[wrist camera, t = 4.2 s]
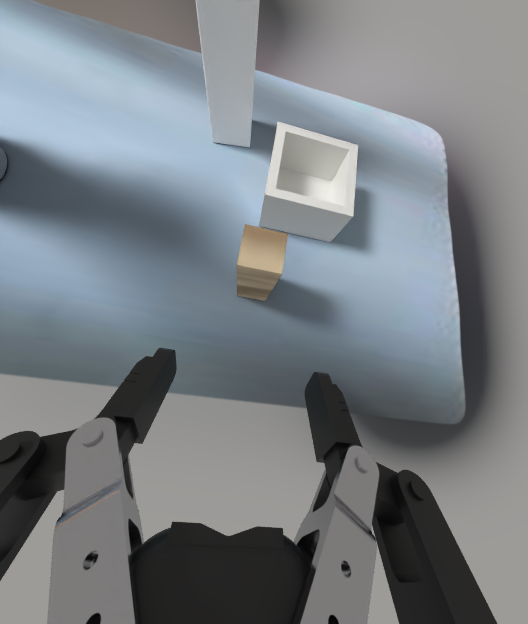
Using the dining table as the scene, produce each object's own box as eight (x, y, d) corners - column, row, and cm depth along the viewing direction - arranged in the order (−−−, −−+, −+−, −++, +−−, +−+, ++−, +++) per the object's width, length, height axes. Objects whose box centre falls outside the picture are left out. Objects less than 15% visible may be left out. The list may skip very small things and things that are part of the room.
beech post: (265, 301, 26) (282, 274, 17) (237, 295, 26) (236, 264, 16) (269, 274, 27) (287, 233, 17) (242, 269, 27) (244, 224, 17)
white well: (330, 242, 29) (353, 216, 24) (259, 225, 28) (264, 194, 22) (335, 182, 32) (358, 145, 26) (270, 164, 31) (277, 121, 25)
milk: (250, 119, 32) (280, -355, 10) (250, 148, 31) (282, -315, 9) (213, 113, 31) (162, -419, 9) (211, 143, 30) (149, -384, 8)
